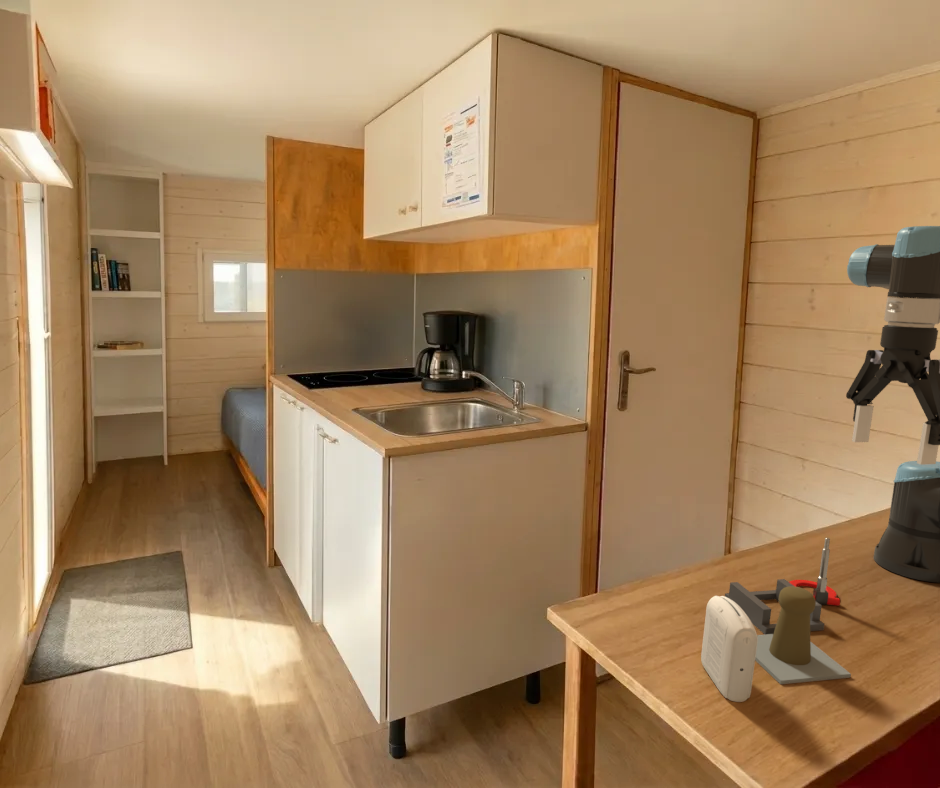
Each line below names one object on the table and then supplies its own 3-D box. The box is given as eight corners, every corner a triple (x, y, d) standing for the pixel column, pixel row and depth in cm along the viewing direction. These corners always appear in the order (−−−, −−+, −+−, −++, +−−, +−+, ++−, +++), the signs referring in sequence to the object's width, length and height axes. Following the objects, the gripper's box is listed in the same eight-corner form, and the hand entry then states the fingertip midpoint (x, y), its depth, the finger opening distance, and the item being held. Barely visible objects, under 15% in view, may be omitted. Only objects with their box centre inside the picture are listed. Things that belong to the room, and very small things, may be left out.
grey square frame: (777, 595, 125) (780, 576, 124) (823, 630, 113) (826, 608, 112) (724, 599, 123) (726, 579, 122) (765, 634, 111) (767, 613, 110)
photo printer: (754, 703, 93) (764, 623, 90) (725, 703, 92) (734, 623, 90) (723, 660, 103) (731, 588, 101) (696, 661, 103) (704, 588, 100)
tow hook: (781, 583, 131) (797, 603, 122) (788, 521, 129) (805, 537, 120) (825, 587, 130) (845, 608, 121) (833, 525, 128) (853, 541, 119)
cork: (796, 669, 100) (806, 603, 98) (761, 650, 105) (769, 586, 103) (818, 658, 103) (827, 594, 101) (783, 639, 108) (791, 578, 106)
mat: (797, 634, 111) (798, 631, 111) (850, 677, 99) (851, 673, 99) (734, 640, 109) (734, 636, 109) (780, 684, 97) (780, 680, 97)
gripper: (834, 319, 116) (819, 434, 120) (961, 331, 92) (937, 475, 96) (870, 319, 118) (854, 433, 122) (1005, 332, 94) (980, 473, 97)
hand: (891, 452), depth 109 cm, fingers open, 13 cm apart
